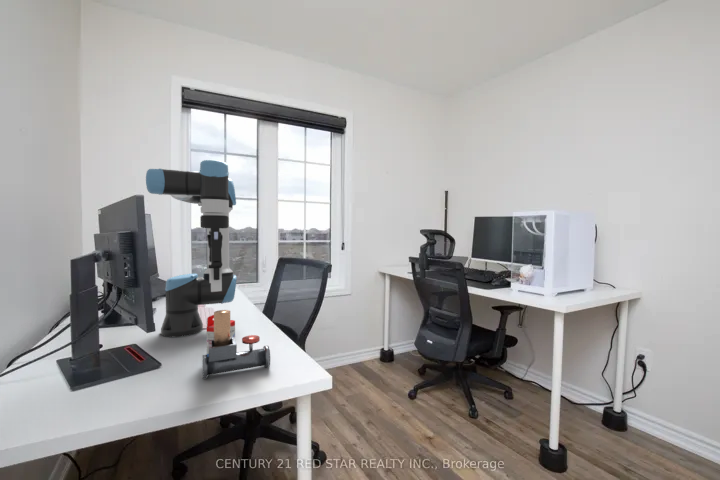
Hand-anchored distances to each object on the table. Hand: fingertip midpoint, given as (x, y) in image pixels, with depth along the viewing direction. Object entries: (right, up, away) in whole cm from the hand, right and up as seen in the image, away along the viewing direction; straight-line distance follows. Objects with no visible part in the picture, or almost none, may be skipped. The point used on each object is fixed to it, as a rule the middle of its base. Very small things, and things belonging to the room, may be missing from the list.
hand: (215, 286), depth 94 cm
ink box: (-3, -25, +11) cm, 28 cm away
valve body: (+6, -26, +1) cm, 26 cm away
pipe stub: (+2, -19, -1) cm, 19 cm away
